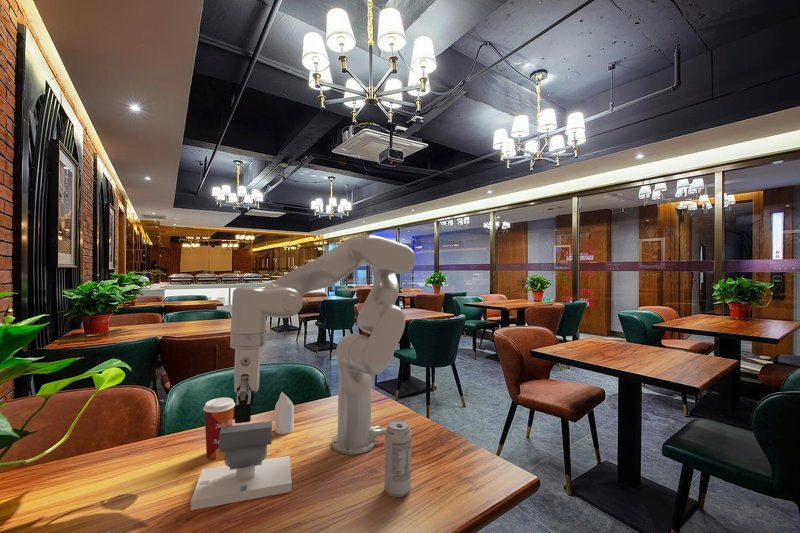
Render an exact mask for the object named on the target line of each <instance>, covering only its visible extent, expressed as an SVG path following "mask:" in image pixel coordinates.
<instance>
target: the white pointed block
mask: <svg viewBox="0 0 800 533" xmlns="http://www.w3.org/2000/svg"><path fill="white" fill-rule="evenodd" d="M294 409H295V408H294V403H293V402H292V400H291V399H290V398H289V397H288V396H287V395H286V394H285V393H284V392H283V391H281V393H280V395H279V398H278V400H277V402H276V404H275V406H274V433H276V434H277V433H278V435H287V434H290V432H291V433H292V432H293V431H294V430H295V429H294V428H295V427H294V426H295V425H294V422H295V421H294V416H295V415H294V413H295V412H294ZM286 433H287V434H286Z"/></svg>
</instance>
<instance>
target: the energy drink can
mask: <svg viewBox="0 0 800 533" xmlns="http://www.w3.org/2000/svg"><path fill="white" fill-rule="evenodd" d="M384 438H385V440H384V441H385V442H384V443H385V444H384V485H383V486H384V490H385V492H386V493H387V495H389V496H390V497H392V498H401V497H404V496H406V495H407V494H408V492H409V491H410V490H411V487H412V483H411V482H412V481H411V478H412V430H411V428H410V424H409V423H408V422H407V421H405V420H403V419H402V420H399V419H396V420H391V421H390V422H388V424H387V428H386V432H385V435H384Z"/></svg>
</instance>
